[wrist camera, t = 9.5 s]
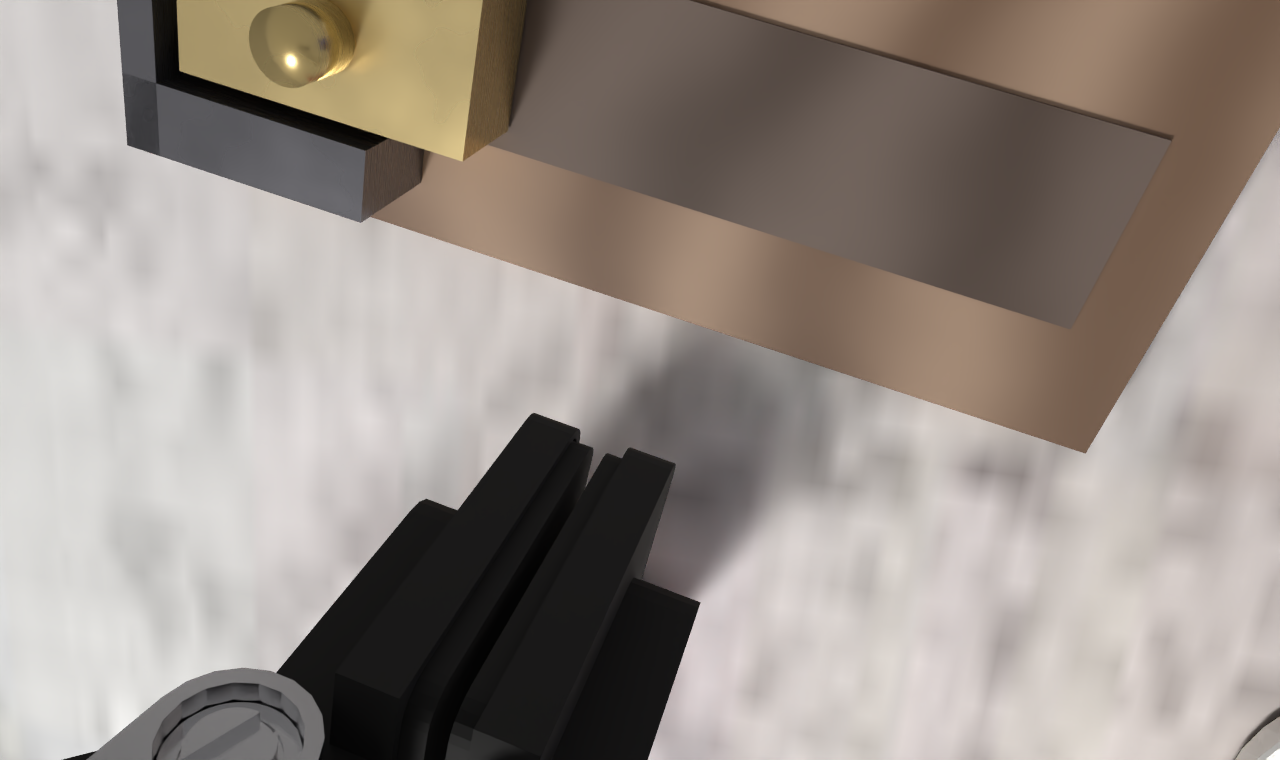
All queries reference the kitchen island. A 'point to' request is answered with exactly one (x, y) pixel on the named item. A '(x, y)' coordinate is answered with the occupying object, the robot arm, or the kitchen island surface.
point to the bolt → (367, 62)
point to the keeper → (250, 128)
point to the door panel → (881, 179)
